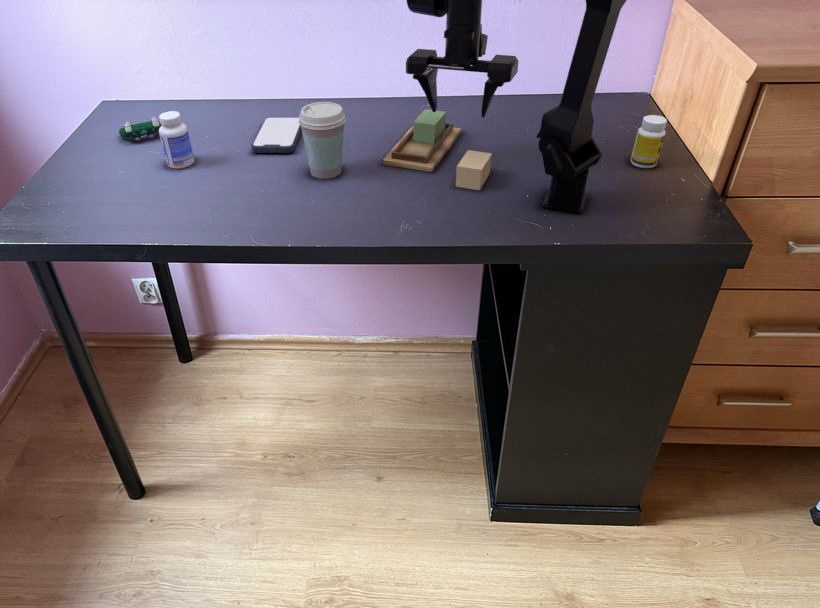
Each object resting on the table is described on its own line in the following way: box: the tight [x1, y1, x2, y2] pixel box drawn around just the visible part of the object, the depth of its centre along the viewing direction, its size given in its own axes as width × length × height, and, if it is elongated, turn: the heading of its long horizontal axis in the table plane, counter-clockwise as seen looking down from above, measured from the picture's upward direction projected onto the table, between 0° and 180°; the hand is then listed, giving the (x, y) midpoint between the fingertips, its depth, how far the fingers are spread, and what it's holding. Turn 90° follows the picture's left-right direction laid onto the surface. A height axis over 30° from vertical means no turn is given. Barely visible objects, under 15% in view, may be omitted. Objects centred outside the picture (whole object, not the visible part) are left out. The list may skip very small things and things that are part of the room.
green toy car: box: [118, 116, 162, 142], centre depth 139 cm, size 9×4×6 cm
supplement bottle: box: [629, 114, 668, 169], centre depth 121 cm, size 5×5×8 cm
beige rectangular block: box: [455, 149, 493, 191], centre depth 119 cm, size 7×4×4 cm, turn 157°
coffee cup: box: [298, 101, 347, 180], centre depth 121 cm, size 8×8×12 cm
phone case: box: [251, 116, 302, 154], centre depth 137 cm, size 9×2×16 cm
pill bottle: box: [158, 110, 195, 170], centre depth 127 cm, size 5×5×10 cm
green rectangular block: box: [413, 108, 447, 144], centre depth 132 cm, size 7×4×4 cm, turn 157°
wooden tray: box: [382, 122, 462, 173], centre depth 131 cm, size 19×10×2 cm, turn 157°
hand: (458, 114), depth 120 cm, fingers open, 9 cm apart
